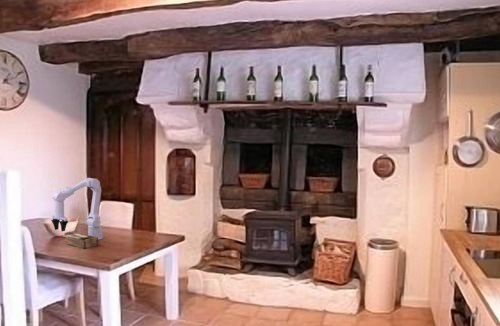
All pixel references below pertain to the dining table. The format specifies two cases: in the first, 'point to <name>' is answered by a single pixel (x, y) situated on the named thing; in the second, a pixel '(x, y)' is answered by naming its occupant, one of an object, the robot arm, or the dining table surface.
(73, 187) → the robot arm
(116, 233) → the dining table surface
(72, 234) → the lid
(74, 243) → the keepsake box
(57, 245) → the dining table surface
